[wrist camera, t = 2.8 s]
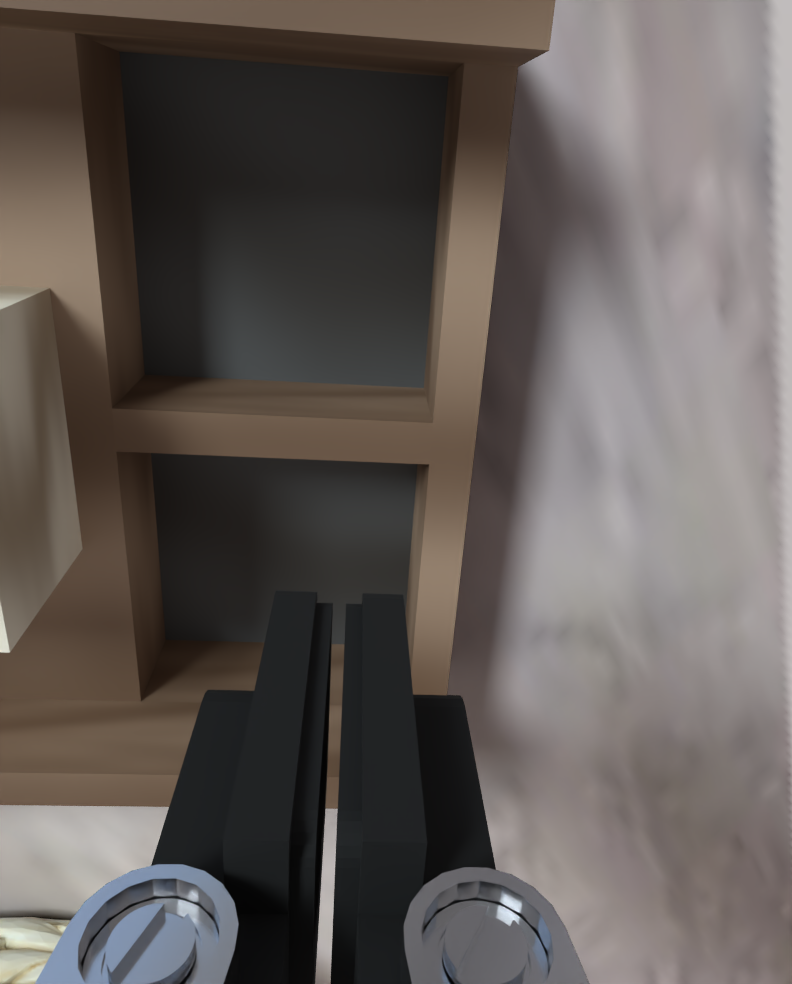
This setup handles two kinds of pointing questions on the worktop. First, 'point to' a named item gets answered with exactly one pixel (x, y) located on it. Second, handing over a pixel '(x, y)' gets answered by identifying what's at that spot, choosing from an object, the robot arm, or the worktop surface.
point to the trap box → (246, 343)
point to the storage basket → (27, 947)
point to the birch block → (32, 463)
